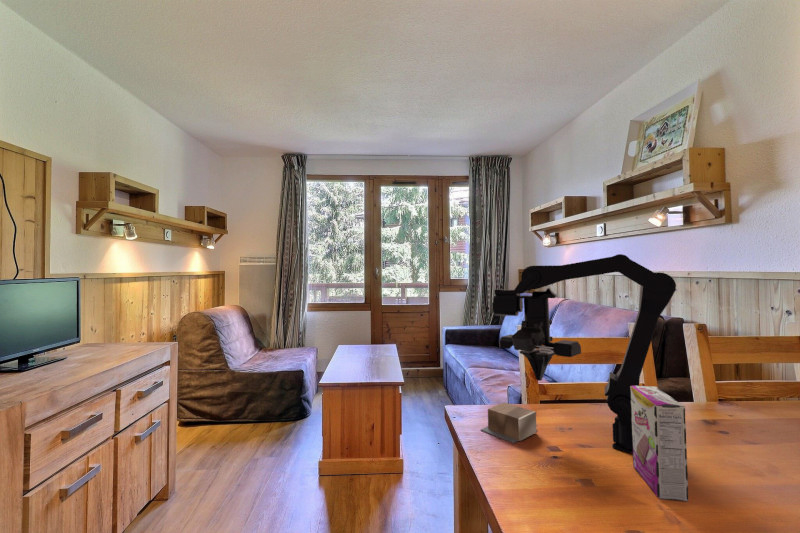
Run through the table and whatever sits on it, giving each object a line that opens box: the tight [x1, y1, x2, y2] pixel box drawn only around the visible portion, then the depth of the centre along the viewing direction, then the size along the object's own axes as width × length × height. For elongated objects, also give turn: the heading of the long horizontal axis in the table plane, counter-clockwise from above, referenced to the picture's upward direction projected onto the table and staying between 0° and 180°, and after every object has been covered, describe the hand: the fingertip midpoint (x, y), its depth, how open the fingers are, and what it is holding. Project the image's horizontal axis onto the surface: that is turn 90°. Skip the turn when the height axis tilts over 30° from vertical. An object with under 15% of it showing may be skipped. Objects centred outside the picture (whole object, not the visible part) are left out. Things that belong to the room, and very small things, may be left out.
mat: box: [480, 425, 538, 444], centre depth 94 cm, size 10×10×1 cm
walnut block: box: [487, 402, 537, 442], centre depth 93 cm, size 5×7×9 cm
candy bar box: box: [630, 385, 689, 502], centre depth 70 cm, size 11×5×16 cm, turn 168°
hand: (539, 380), depth 93 cm, fingers closed
